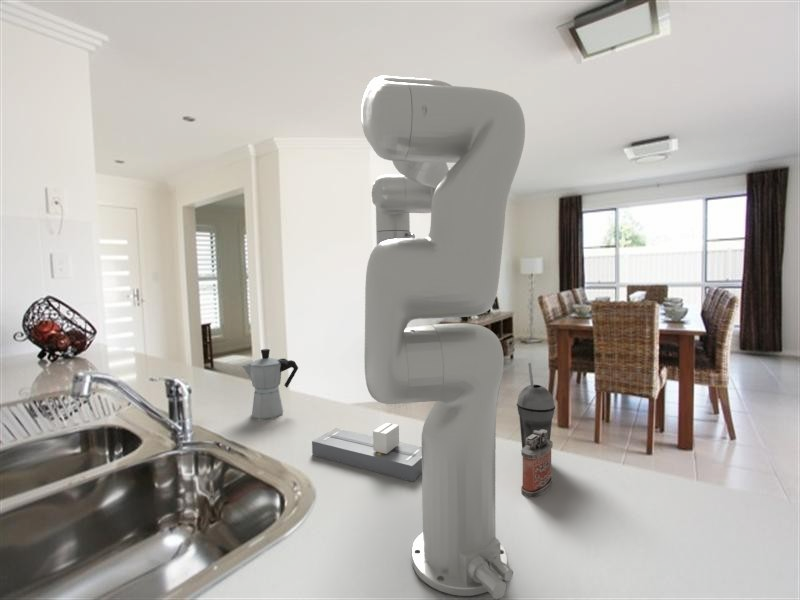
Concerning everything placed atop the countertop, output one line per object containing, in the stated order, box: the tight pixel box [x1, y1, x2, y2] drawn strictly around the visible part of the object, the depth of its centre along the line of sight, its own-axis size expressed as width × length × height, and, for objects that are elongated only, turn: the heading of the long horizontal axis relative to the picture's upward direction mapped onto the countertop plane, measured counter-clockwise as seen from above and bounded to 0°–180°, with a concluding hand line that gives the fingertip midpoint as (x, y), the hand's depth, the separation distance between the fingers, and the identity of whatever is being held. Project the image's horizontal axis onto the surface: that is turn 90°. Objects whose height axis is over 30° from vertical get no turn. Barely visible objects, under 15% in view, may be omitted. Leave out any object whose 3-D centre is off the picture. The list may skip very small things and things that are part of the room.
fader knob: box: [372, 422, 400, 454], centre depth 82 cm, size 3×5×4 cm, turn 150°
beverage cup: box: [516, 362, 556, 450], centre depth 81 cm, size 7×7×20 cm
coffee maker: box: [240, 348, 299, 421], centre depth 112 cm, size 15×9×18 cm, turn 104°
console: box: [311, 428, 422, 482], centre depth 84 cm, size 24×8×3 cm, turn 60°
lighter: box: [520, 429, 554, 499], centre depth 72 cm, size 8×3×10 cm, turn 135°
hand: (394, 321), depth 93 cm, fingers closed
